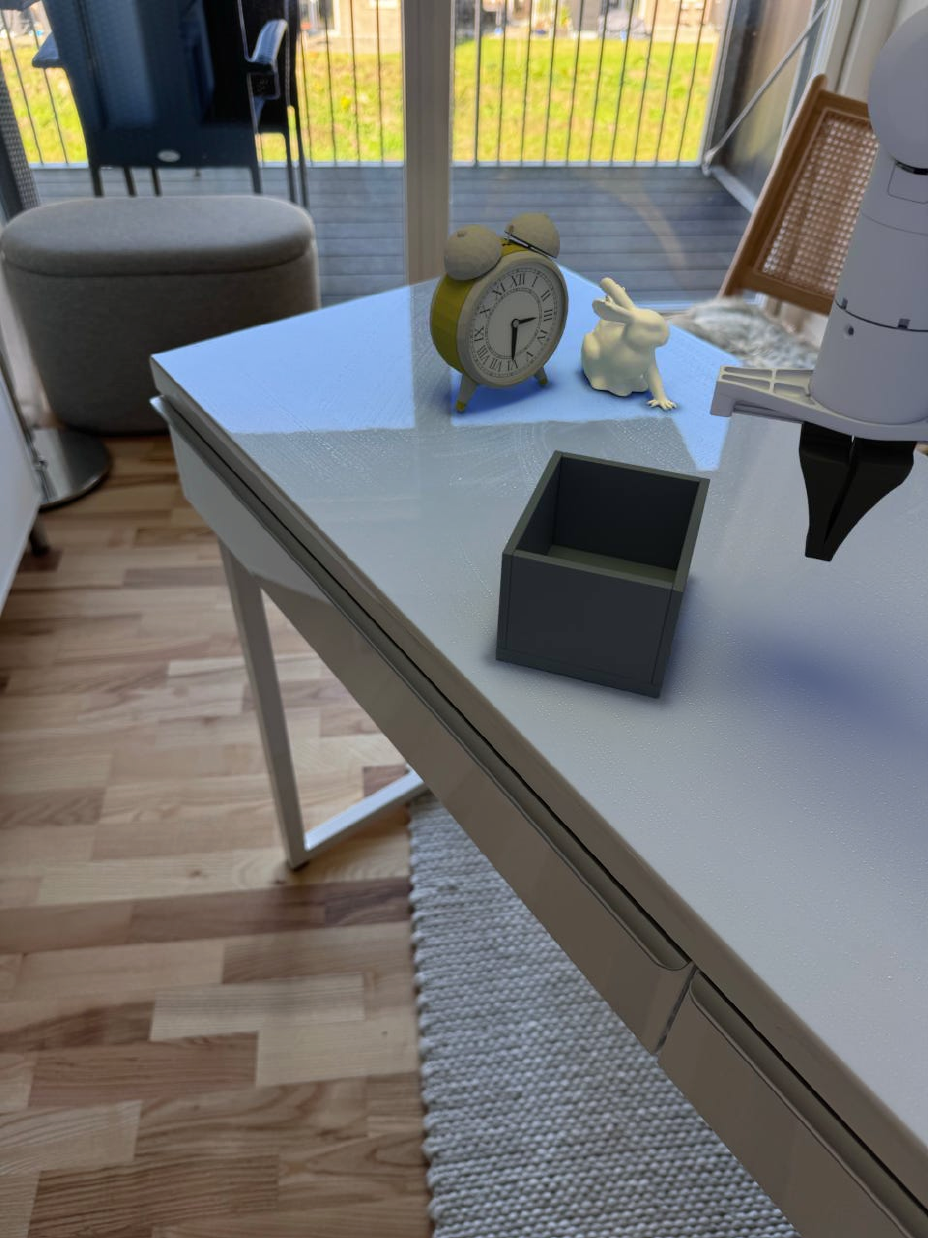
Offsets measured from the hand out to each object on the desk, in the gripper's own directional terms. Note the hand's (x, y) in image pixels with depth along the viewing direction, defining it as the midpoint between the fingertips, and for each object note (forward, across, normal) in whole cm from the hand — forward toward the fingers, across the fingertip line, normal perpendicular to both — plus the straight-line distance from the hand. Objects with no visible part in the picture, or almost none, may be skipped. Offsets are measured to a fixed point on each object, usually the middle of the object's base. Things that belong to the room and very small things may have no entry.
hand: (818, 549), depth 50 cm
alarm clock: (+9, +28, -28) cm, 41 cm away
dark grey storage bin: (+5, +6, 0) cm, 8 cm away
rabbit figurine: (+9, +18, -33) cm, 39 cm away
